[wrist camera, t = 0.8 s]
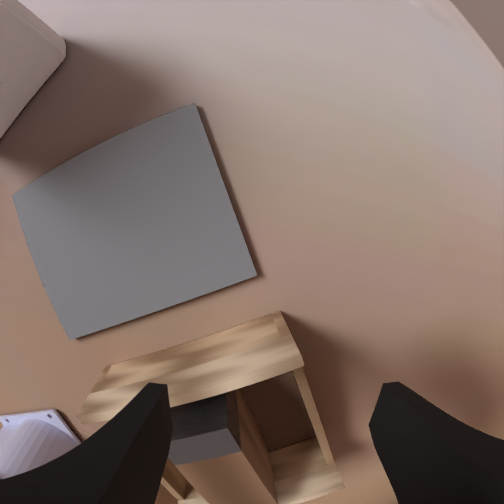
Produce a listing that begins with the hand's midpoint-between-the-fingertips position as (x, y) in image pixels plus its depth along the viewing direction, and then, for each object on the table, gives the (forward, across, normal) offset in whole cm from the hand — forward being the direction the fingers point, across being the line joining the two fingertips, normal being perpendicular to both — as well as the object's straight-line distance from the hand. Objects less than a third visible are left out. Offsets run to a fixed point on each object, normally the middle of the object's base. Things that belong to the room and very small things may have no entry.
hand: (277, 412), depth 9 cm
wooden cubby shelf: (+10, +2, +10) cm, 14 cm away
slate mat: (+10, +9, -4) cm, 14 cm away
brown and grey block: (+10, +2, +10) cm, 14 cm away
